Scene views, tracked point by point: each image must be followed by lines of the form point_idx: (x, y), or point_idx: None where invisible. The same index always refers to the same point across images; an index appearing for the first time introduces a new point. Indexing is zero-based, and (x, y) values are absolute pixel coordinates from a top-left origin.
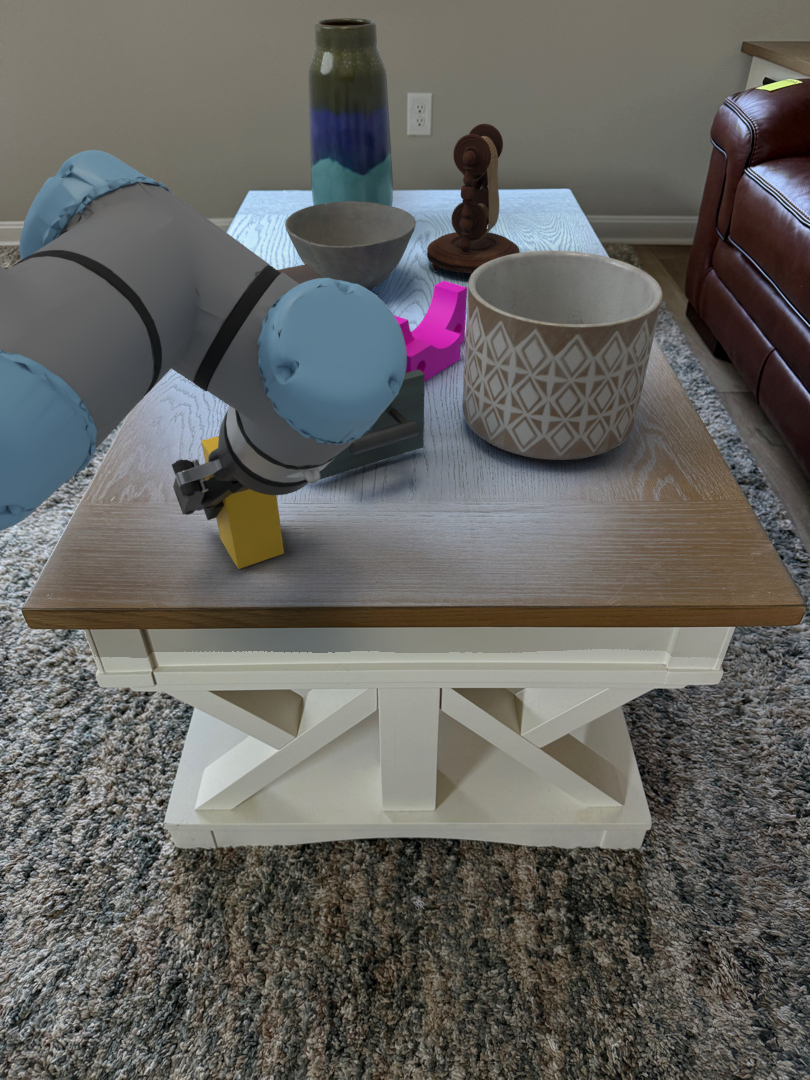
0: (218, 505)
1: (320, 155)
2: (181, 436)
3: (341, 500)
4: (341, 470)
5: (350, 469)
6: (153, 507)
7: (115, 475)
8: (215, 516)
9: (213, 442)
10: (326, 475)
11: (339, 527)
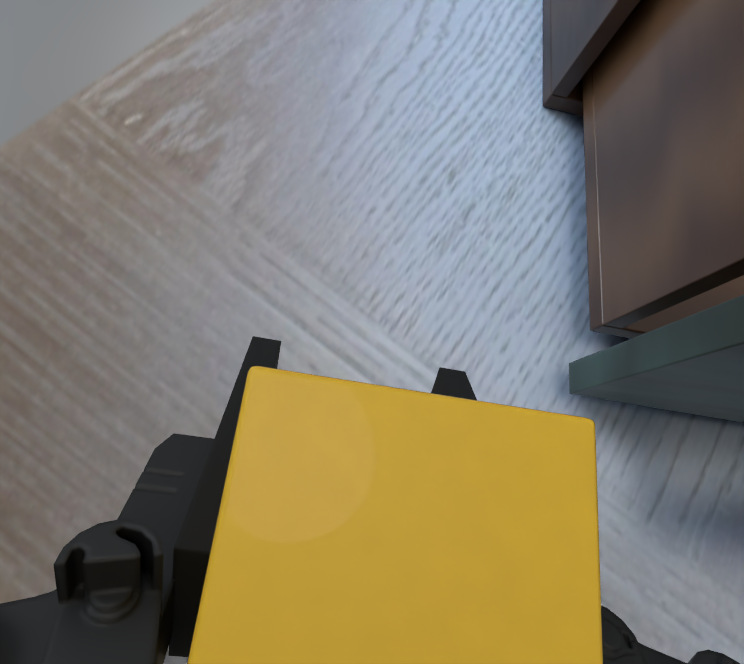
0: (184, 654)
1: None
2: (388, 31)
3: (606, 486)
4: (661, 406)
5: (681, 411)
6: (196, 209)
7: (188, 50)
8: None
9: (309, 448)
10: (620, 399)
11: None
